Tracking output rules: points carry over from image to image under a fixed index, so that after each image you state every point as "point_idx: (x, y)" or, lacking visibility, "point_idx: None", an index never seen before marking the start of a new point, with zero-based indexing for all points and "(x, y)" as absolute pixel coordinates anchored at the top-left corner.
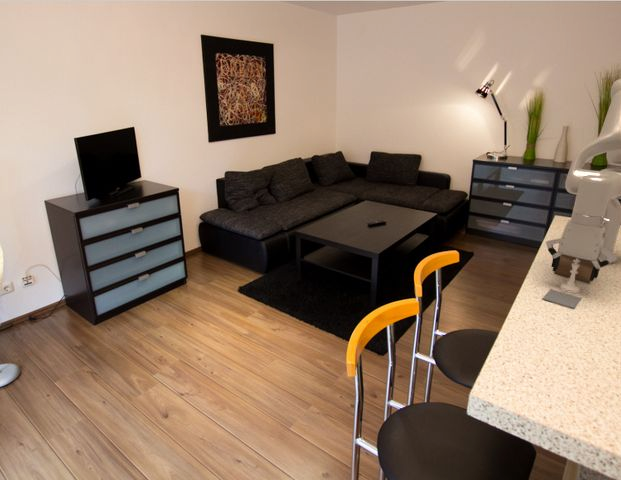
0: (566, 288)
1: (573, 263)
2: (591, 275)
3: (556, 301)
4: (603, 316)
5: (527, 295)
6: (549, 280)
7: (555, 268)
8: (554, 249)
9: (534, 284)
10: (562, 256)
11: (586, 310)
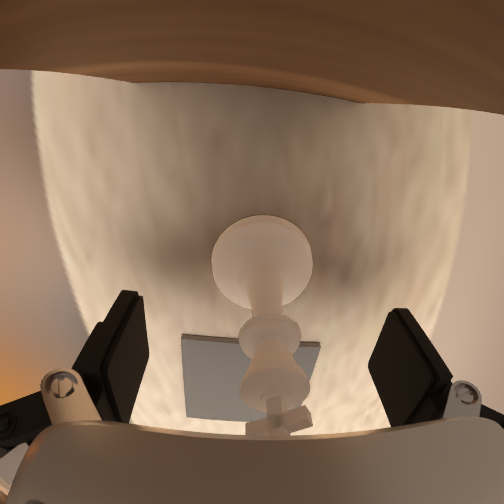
0: (247, 307)
1: (253, 396)
2: (381, 393)
3: (233, 415)
4: (377, 404)
5: (137, 406)
6: (137, 209)
7: (142, 370)
8: (29, 442)
9: (104, 311)
10: (92, 66)
11: (332, 403)
